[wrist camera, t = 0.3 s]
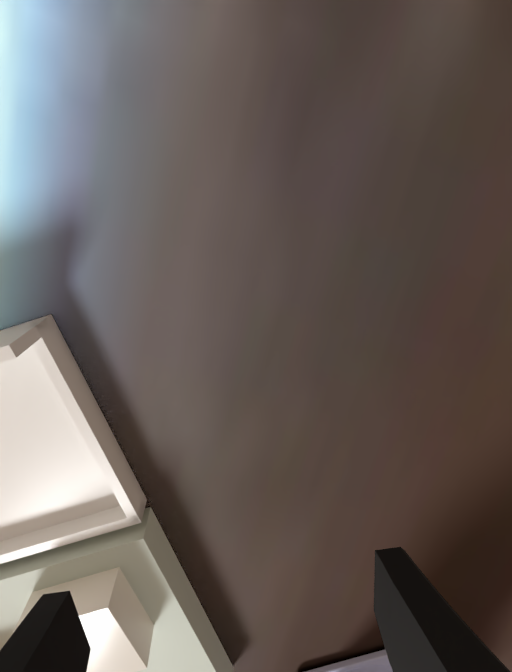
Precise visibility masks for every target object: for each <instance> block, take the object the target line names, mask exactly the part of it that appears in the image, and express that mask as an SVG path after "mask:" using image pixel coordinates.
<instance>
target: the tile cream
mask: <svg viewBox="0 0 512 672" xmlns="http://www.w3.org/2000/svg"><path fill="white" fill-rule="evenodd" d="M64 591H70V593H71V595H72V598H73V601H74V604H75V607H76V609H77V612H78V615H79V618H80V620H81V623H82V626H83V629H84V632H85V634H86V637H87V640H88V643H89V645H90V648H91V650H90V656H89V661H88V666H87V671H86V672H137V671H140V670H144V669H147V666H148V660H149V654H150V648H151V642H152V635H153V629H154V624H153V623H152V621H151V619H150V618H149V616H148V614H147V613H146V611H145V609H144V608H143V606H142V604H141V603H140V601H139V599H138V598H137V596H136V594H135V593H134V591H133V589H132V588H131V586H130V584H129V583H128V581H127V579H126V578H125V576H124V574H123V573H122V571H121V569H120V567H117V568H114V569H110V570H107V571H103V572H100V573H96V574H93V575H90V576H86V577H83V578H79V579H76V580H72V581H69V582H65V583H62V584H58V585H55V586H52V587H48V588H45V589H41V590H38V591H34V592H32V594H31V596H30V598H29V600H28V602H27V604H26V606H25V608H24V610H23V613H22V615H21V617H20V619H19V621H18V623H17V625H16V627H15V629H14V631H15V630H16V629H17V627H18V626H19V625H20V624H21V622H22V621H23V620H24V618H25V617H26V616H27V614H28V613H29V612H30V610H31V609H32V608H33V606H34V605H35V604H36V603H37V601H38V600H39V599H40V597H41V596H42V595H43V594H49V593H56V592H64ZM14 631H13V633H14ZM13 633H12V634H13Z"/></svg>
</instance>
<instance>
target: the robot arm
mask: <svg viewBox="0 0 512 672" xmlns="http://www.w3.org/2000/svg"><path fill="white" fill-rule="evenodd" d="M374 612H375V615H376V619H377V622H378V626H379V629H380V633H381V636H382V640H383V643H384V646H385V649H384V650H380V651H377V652H373V653H370V654H366V655H362V656H359V657H355V658H351V659H348V660H344V661H341V662H337V663H333V664H330V665H326V666H322V667H319V668H315V669H312V670H308V671H304V672H510V671H509V670H508V669H507V668H506V667H505V665H504V664H503V663H502V662H501V661H500V660H499V659H498V658H497V657H496V656H495V655H494V654H493V653H492V652H491V651H490V650H489V649H488V647H487V646H486V645H485V644H484V643H483V642H482V641H481V640H480V639H479V638H478V636H477V635H476V634H475V633H474V632H473V631H472V630H471V629H470V628H469V627H468V625H467V624H466V623H465V622H464V621H463V620H462V619H461V618H460V617H459V615H458V614H457V613H456V612H455V611H454V610H453V609H452V607H451V606H450V605H449V604H448V603H447V602H446V600H445V599H444V598H443V597H442V596H441V595H440V593H439V592H438V591H437V590H436V589H435V587H434V586H433V585H432V584H431V583H430V581H429V580H428V579H427V578H426V577H425V575H424V574H423V573H422V572H421V570H420V569H419V568H418V567H417V565H416V564H415V563H414V562H413V560H412V559H411V558H410V557H409V555H408V554H407V553H406V552H405V550H403V549H402V548H401V547H397V548H389V549H382V550H375V582H374ZM90 650H91V648H90V645H89V643H88V640H87V637H86V634H85V632H84V629H83V626H82V623H81V620H80V618H79V615H78V612H77V609H76V607H75V604H74V601H73V598H72V595H71V593H70V591H64V592H56V593H49V594H43V595H42V596H41V597H40V599H39V600H38V601H37V603H36V604H35V605H34V606H33V608H32V609H31V610H30V612H29V613H28V614H27V616H26V617H25V618H24V620H23V621H22V622H21V624H20V625H19V626H18V627H17V629H16V630H15V631H14V633H13V634H12V635H11V637H10V638H9V639H8V641H7V642H6V643H5V645H4V646H3V647H2V649H1V650H0V672H86V671H87V666H88V661H89V656H90Z"/></svg>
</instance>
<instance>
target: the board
mask: <svg viewBox="0 0 512 672" xmlns="http://www.w3.org/2000/svg"><path fill="white" fill-rule="evenodd" d="M117 567H120V569H121V571H122V573H123V574H124V576H125V578H126V579H127V581H128V583H129V584H130V586H131V588H132V589H133V591H134V593H135V594H136V596H137V598H138V599H139V601H140V603H141V604H142V606H143V608H144V609H145V611H146V613H147V614H148V616H149V618H150V619H151V621H152V623H153V624H154V629H153V635H152V642H151V648H150V654H149V660H148V666H147V669H144V670H140V671H137V672H233V665H232V663H231V662H230V660H229V658H228V656H227V654H226V652H225V650H224V648H223V646H222V644H221V642H220V640H219V638H218V636H217V634H216V632H215V630H214V629H213V627H212V625H211V623H210V621H209V619H208V617H207V615H206V613H205V611H204V609H203V607H202V605H201V603H200V601H199V599H198V598H197V596H196V594H195V592H194V590H193V588H192V586H191V584H190V582H189V580H188V578H187V576H186V574H185V572H184V570H183V568H182V566H181V565H180V563H179V561H178V559H177V557H176V555H175V553H174V551H173V549H172V547H171V545H170V543H169V541H168V539H167V537H166V535H165V534H164V532H163V530H162V528H161V526H160V524H159V522H158V520H157V518H156V516H155V514H154V512H153V510H152V508H151V507H148V508H145V510H144V514H143V518H142V522H141V523H139V524H135V525H132V526H128V527H125V528H121V529H118V530H115V531H111V532H108V533H104V534H101V535H98V536H94V537H91V538H87V539H84V540H81V541H77V542H74V543H70V544H67V545H63V546H60V547H57V548H53V549H50V550H46V551H43V552H40V553H36V554H33V555H29V556H26V557H23V558H19V559H16V560H12V561H9V562H5V563H2V564H0V650H1V649H2V647H3V646H4V645H5V643H6V642H7V641H8V639H9V638H10V637H11V635H12V633H13V631H14V629H15V627H16V625H17V623H18V621H19V619H20V617H21V615H22V613H23V610H24V608H25V606H26V604H27V602H28V600H29V598H30V596H31V594H32V592H34V591H38V590H41V589H45V588H48V587H52V586H55V585H58V584H62V583H65V582H69V581H72V580H76V579H79V578H83V577H86V576H90V575H93V574H96V573H100V572H103V571H107V570H110V569H114V568H117Z"/></svg>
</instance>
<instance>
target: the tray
mask: <svg viewBox="0 0 512 672" xmlns="http://www.w3.org/2000/svg"><path fill="white" fill-rule="evenodd" d="M146 502H147V499H146V497H145V495H144V493H143V491H142V489H141V487H140V485H139V483H138V481H137V479H136V477H135V475H134V473H133V471H132V470H131V468H130V466H129V464H128V462H127V460H126V458H125V456H124V454H123V452H122V450H121V448H120V446H119V444H118V442H117V440H116V438H115V437H114V435H113V433H112V431H111V429H110V427H109V425H108V423H107V421H106V419H105V417H104V415H103V413H102V411H101V409H100V407H99V406H98V404H97V402H96V400H95V398H94V396H93V394H92V392H91V390H90V388H89V386H88V384H87V382H86V380H85V378H84V376H83V375H82V373H81V371H80V369H79V367H78V365H77V363H76V361H75V359H74V357H73V355H72V353H71V351H70V349H69V347H68V345H67V343H66V342H65V340H64V338H63V336H62V334H61V332H60V330H59V328H58V326H57V324H56V322H55V320H54V318H53V316H52V314H51V315H47V316H44V317H41V318H38V319H35V320H31V321H28V322H25V323H22V324H19V325H16V326H12V327H9V328H6V329H3V330H0V564H2V563H5V562H9V561H12V560H16V559H19V558H23V557H26V556H29V555H33V554H36V553H40V552H43V551H46V550H50V549H53V548H57V547H60V546H63V545H67V544H70V543H74V542H77V541H81V540H84V539H87V538H91V537H94V536H98V535H101V534H104V533H108V532H111V531H115V530H118V529H121V528H125V527H128V526H132V525H135V524H139V523H141V522H142V518H143V514H144V510H145V506H146Z"/></svg>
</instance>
